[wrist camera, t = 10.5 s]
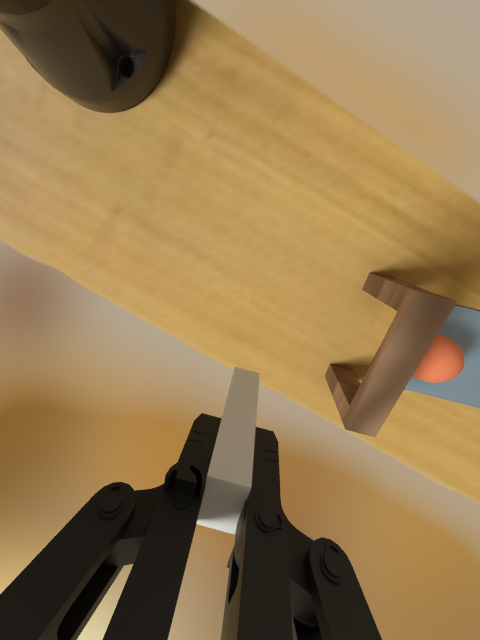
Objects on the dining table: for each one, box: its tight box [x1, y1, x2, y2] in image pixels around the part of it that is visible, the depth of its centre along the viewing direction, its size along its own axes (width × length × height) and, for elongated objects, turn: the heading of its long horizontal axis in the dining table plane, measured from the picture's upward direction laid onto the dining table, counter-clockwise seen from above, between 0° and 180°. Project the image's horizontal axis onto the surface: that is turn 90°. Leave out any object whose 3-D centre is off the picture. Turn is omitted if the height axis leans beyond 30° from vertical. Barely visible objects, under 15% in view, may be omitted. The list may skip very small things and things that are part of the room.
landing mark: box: [405, 305, 480, 408], centre depth 28 cm, size 12×12×1 cm
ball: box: [413, 334, 465, 383], centre depth 26 cm, size 6×6×6 cm
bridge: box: [325, 273, 457, 437], centre depth 24 cm, size 3×14×9 cm, turn 168°
